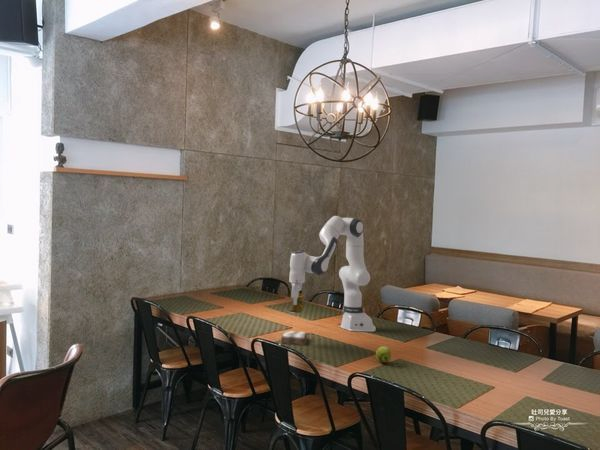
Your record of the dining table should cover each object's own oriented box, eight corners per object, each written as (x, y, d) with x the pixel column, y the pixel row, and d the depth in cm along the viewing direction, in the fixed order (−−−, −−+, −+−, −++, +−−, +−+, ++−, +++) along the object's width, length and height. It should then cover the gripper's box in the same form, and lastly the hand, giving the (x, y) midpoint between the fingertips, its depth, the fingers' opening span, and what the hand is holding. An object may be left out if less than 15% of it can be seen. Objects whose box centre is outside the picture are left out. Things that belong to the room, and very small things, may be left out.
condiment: (305, 312, 282) (306, 291, 282) (292, 313, 277) (293, 292, 277) (298, 309, 288) (299, 289, 288) (285, 311, 283) (286, 289, 283)
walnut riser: (306, 338, 290) (306, 331, 290) (304, 344, 277) (304, 337, 277) (284, 337, 291) (284, 330, 291) (281, 343, 278) (281, 336, 278)
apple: (388, 359, 258) (389, 344, 257) (392, 365, 249) (393, 349, 248) (373, 359, 257) (374, 343, 257) (377, 365, 248) (378, 349, 248)
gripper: (301, 282, 272) (299, 307, 272) (304, 276, 292) (302, 300, 293) (289, 281, 272) (288, 306, 273) (293, 276, 292) (292, 299, 293)
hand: (295, 303), depth 283 cm, fingers closed on condiment, 6 cm apart
